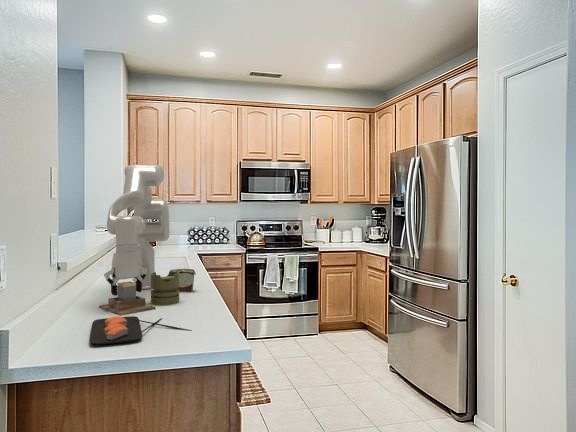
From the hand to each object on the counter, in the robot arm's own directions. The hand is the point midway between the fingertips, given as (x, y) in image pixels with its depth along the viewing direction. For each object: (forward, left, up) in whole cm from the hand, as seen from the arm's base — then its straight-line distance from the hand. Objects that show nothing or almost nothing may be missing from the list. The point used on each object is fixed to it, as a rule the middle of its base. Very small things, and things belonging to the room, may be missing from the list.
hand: (126, 293), depth 175 cm
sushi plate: (+32, -11, -7) cm, 34 cm away
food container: (-14, +35, -6) cm, 38 cm away
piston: (+1, +16, -6) cm, 17 cm away
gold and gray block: (0, 0, -5) cm, 5 cm away
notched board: (0, 0, -6) cm, 6 cm away
